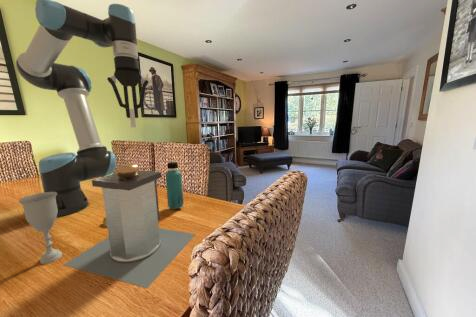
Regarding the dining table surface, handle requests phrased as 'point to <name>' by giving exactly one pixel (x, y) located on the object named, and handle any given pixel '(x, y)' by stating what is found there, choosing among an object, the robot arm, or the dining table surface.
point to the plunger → (127, 170)
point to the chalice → (42, 219)
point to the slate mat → (135, 272)
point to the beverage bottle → (174, 186)
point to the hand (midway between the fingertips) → (133, 127)
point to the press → (131, 215)
